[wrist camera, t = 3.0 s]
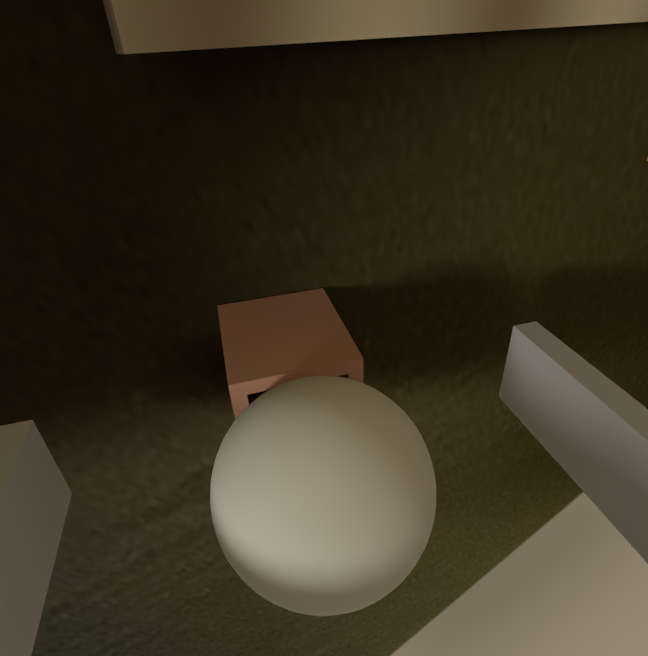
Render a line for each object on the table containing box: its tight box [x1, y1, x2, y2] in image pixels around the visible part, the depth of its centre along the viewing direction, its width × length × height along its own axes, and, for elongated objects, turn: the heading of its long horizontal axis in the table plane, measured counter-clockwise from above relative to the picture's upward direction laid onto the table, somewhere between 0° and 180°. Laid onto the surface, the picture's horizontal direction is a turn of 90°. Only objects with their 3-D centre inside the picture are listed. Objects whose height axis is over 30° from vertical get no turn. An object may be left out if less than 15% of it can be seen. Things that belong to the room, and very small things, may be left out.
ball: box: [210, 375, 436, 616], centre depth 10 cm, size 5×5×5 cm
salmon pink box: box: [217, 288, 363, 420], centre depth 14 cm, size 3×3×4 cm
